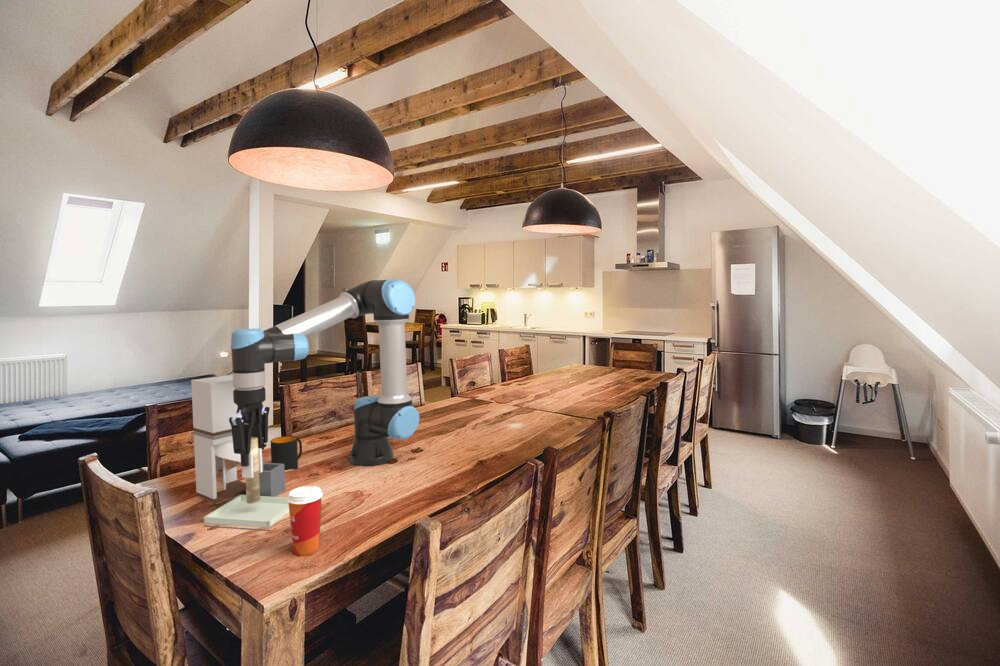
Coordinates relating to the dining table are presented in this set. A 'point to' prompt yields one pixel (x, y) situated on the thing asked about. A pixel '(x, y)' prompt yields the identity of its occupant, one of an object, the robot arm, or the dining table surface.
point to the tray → (249, 513)
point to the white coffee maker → (215, 439)
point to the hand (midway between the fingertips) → (252, 474)
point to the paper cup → (305, 519)
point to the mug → (286, 451)
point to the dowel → (253, 483)
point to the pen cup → (272, 479)
